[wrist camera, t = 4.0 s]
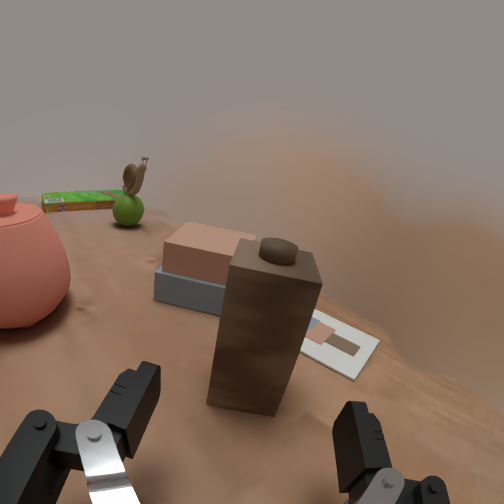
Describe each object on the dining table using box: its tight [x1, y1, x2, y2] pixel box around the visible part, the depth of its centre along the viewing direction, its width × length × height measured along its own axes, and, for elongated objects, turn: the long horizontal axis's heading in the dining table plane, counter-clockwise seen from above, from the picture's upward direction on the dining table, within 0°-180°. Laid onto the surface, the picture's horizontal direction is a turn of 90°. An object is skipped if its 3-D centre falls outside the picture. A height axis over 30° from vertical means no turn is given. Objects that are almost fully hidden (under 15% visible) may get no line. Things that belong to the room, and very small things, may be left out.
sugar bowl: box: [0, 193, 71, 329], centre depth 18 cm, size 12×14×10 cm
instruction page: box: [300, 309, 380, 381], centre depth 27 cm, size 10×8×1 cm
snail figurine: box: [113, 157, 148, 226], centre depth 45 cm, size 5×6×12 cm
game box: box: [42, 190, 125, 213], centre depth 54 cm, size 3×10×20 cm
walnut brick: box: [207, 238, 322, 416], centre depth 17 cm, size 4×4×11 cm
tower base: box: [154, 222, 256, 316], centre depth 31 cm, size 9×9×6 cm
